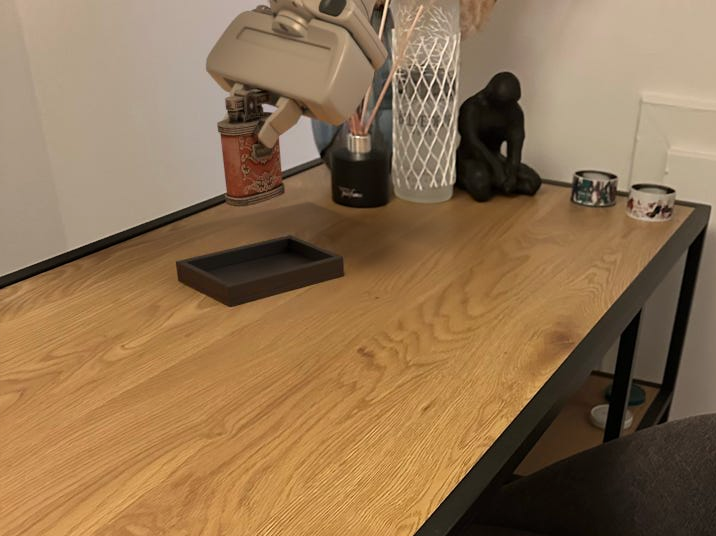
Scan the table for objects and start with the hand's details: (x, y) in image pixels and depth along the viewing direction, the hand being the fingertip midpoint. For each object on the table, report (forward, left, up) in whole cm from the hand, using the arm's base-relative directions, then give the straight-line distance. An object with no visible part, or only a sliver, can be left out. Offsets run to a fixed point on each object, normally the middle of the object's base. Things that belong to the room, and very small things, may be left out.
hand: (245, 137), depth 95 cm
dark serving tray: (0, +1, -14) cm, 14 cm away
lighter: (0, +1, -6) cm, 6 cm away
